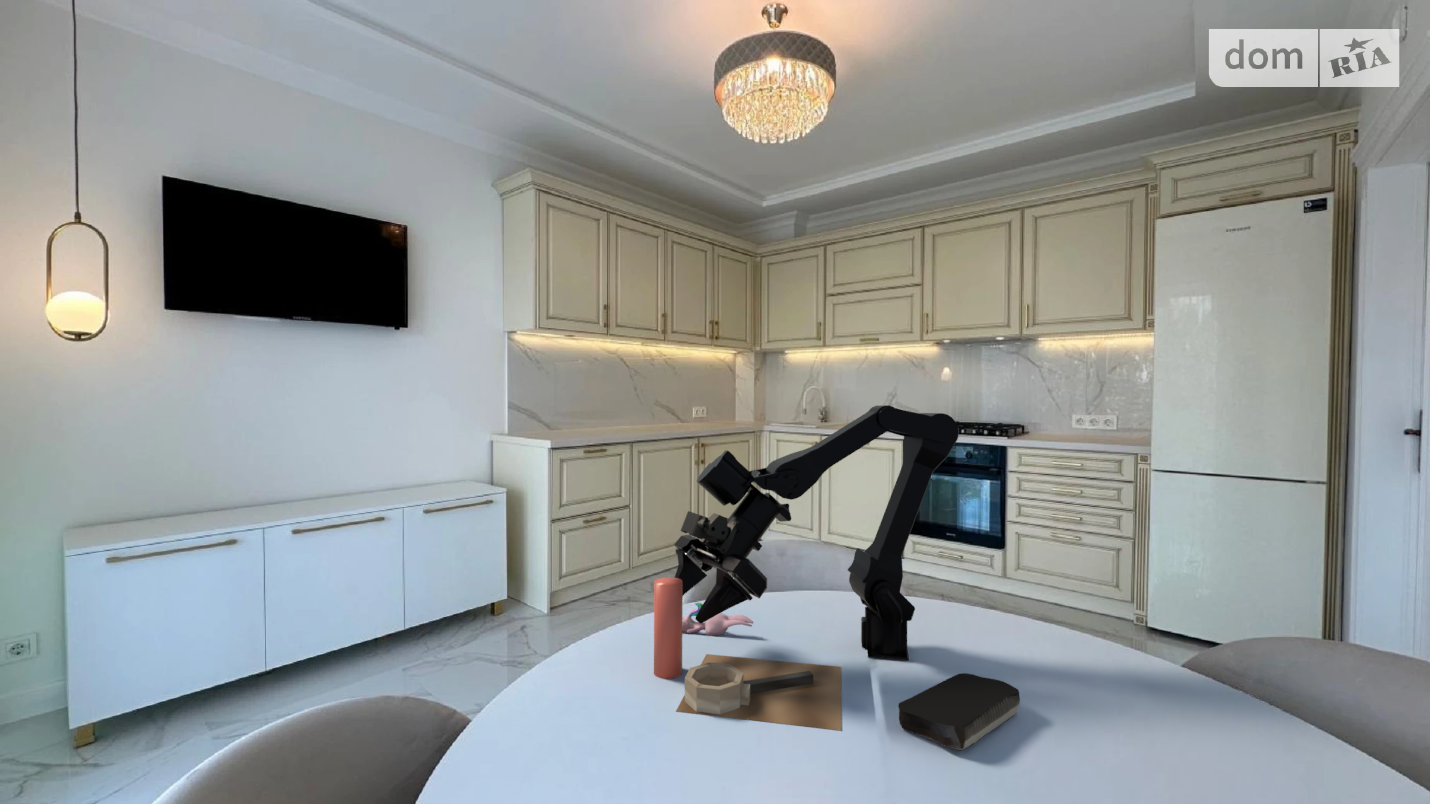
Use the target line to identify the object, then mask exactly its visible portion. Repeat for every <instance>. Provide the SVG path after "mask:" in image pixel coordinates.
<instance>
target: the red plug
mask: <svg viewBox="0 0 1430 804" xmlns="http://www.w3.org/2000/svg"><path fill="white" fill-rule="evenodd" d="M674 577H675V576H674ZM674 577H672V576H668V577H667V576H666V577H659V578H657V579H655V580H654V581H653V586H654V587H653V588H654V589H653V591H654V592H653V593H654V594H653V595H654V596H653V601H654V602H653V675H654V676H655V677H657V678H659V679H663V680H670V679H671V680H672V679H675V678H678V677H680V676H681V675H682V673H683V634H682V618H683V597H684V595H683V581H682V580H681V579H679V578H674Z"/></svg>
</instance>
